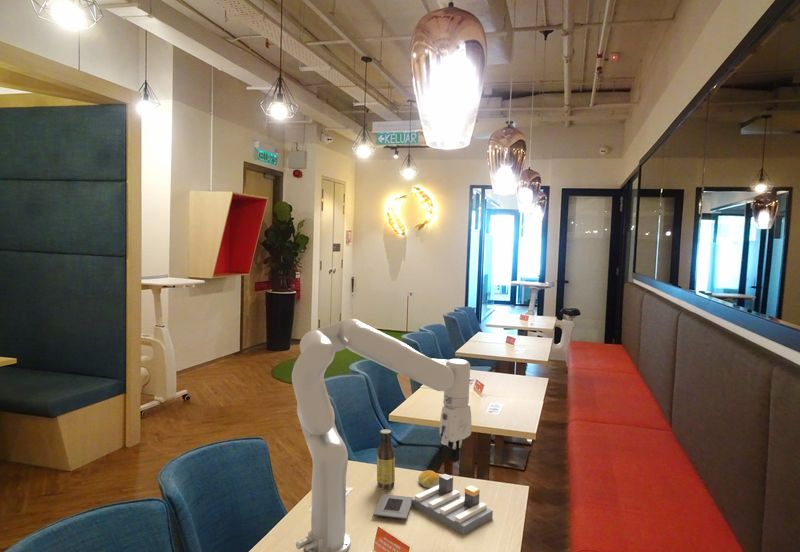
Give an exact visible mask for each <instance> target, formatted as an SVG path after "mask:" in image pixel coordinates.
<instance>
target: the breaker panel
mask: <svg viewBox="0 0 800 552" xmlns="http://www.w3.org/2000/svg"><path fill="white" fill-rule="evenodd" d="M464 503H465V495H464V496H463V495H462V494H461V492H460V491H459V490H457V489H453V491H452V492H450V493H448V494H445V495H443V494H441V493H439V485H437V486H435V487H433V488H427V490H424V491H422V492H420V493H417V494H415V495H414V497H413V498H412V504H411V507H412V508H414V509H416V510H417V511H419V512H421V513H423V514H425V515H427V516H428V517H430V518H432V519H435V520H436V521H438V522H439V523H442V524H444V526H445V525H446V526H447V527H449V528H450V529H452V530H454V531H456V532H458V533H460V534H462V536H463V535H465V534H467V533H469V532H471V531H473V530H474V529H476V528H478V527H480V526H481V525H484V524H485V523H486V522H488V521H491V519H493V513H494V510H493V509H490V508H488V506H487V505H488V504H486V503H485V502H482V501H481V502H479V504H477V505H476V506H474V507H472V508H470V507H468V506H466V505H464Z"/></svg>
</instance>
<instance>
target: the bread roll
mask: <svg viewBox="0 0 800 552" xmlns="http://www.w3.org/2000/svg"><path fill="white" fill-rule="evenodd" d="M439 476H441V475H440V474H439V473H436V472H435V471H434V470H430V469H428V470H424V471H422V472H421V473H420V474H419V476H418V483H419V484H420V485H421V486H423V487H425V488H427V489H431V488H433V487H435V486H437V485H439Z"/></svg>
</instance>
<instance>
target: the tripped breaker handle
mask: <svg viewBox="0 0 800 552" xmlns="http://www.w3.org/2000/svg"><path fill="white" fill-rule="evenodd" d="M480 490H481V489H480V488H478V487H476V486H474V485H471V484H470V485H468V486H466V487H465V488H464V496H465V503H464V505H466V506H468V507H470V508H472V507H474V506H476V505H477V504H479V503H480Z"/></svg>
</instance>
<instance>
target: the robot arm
mask: <svg viewBox="0 0 800 552" xmlns="http://www.w3.org/2000/svg"><path fill="white" fill-rule="evenodd" d="M346 349H347V350H348V351H350V352H352V353H354V354H355V355H358V356H360V357H362V358H365V359H366V360H370V361H372V362H374V363H376V364H379V365H380V366H383V367H385V368H387V369H389V370H391V371H393V372H395V373H397V374H399V375H402V376H404V377H406V378H409V379H410V380H412V381H415V382H417V383H418V384H421V385H423V386H426V387H427V388H430V389H432V390H434V391H437V392H443V399H442V400H443V401H442V408H441V413H440V414H441V415H440V420H439V438H440V439H441V441H440V443H441V445H444V446H446V447H447V449H448V451H447V459H448V460H449V461H451V462H453V463H457V462H459V461H460V454H461V453H460V452H461V450H460V449H461V448H462V443H463V440H465V439H467V438H469V437H470V436H471V434H472V410H471V409H472V408H471V405H470V404H469V402H470V399H469V398H470V385H471V384H470V381H471V379H470V378H471V363H470V362H469V361H468V360H466V359H461V358H451V359H441V358H431V357H428V356H426V355H425V354H423V353H421V352H419V351H417V350H415V349H414V348H412V347H411V346H409V345H408V344H406V343H405V342H403V341H401V340H399V339H397V338H396V337H393V336H391V335H388V334H386V333H385V332H382V331H381V330H378V329H376V328H374V327H372V326H370V325H367V323H364V322H362V321H360V320H358V319H356V318H348V319H344V320H341V321H338V322H335V323H332V324H328V325H325V326H322V327H319V328H316V329H313V330H309V331H307V332H306V333H305V334H303V336H302V337H301V339H300V341H299V350H300V355H299V356H298V357H297V359H296V361H294V365H293V368H292V372H291V384H292V388H293V391H294V395H295V398H296V402H297V404H296V414H297V416H298V420H299V423H300V424H299V425H300V426H301V430H302V433H303V436H304V438H305V439H304V440H305V443H306V446H307V448H308V451H309V453H310V456H311V459H312V472H311V474H312V475H311V512H310V513H311V517H310V518H311V519H310V521H311V529H310V531H307V536H305V538H304V539H300V540H299V541H297V542H296V543H295V548H296V549H297V550H300V549H303V548H305V551H306V552H347V551H348V550H349V549H350V547H351V538H350V537H351V536H350V535H349V534H348V533H347V532H346V513H347V512H346V510H347V509H346V508H347V505H346V503H347V500H346V496H347V488H346V487H347V485H346V484H347V483H346V482H347V469H348V465H349V453H348V450H347V448H348V447H347V446H346V444H345V441H344V440H343V438H342V437H341V435H340V434H339V432H338V428H337V426H336V423H335V420H336V419H335V410H334V407H333V405H332V403H331V400H330V397H329V394H328V390H327V386H326V383H325V378H324V377H325V372H326V371H327V368H328V367H329V366H330V364H331V363H333V360H334V359H335V356H336V353H338V352H341V351H344V350H346Z"/></svg>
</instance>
